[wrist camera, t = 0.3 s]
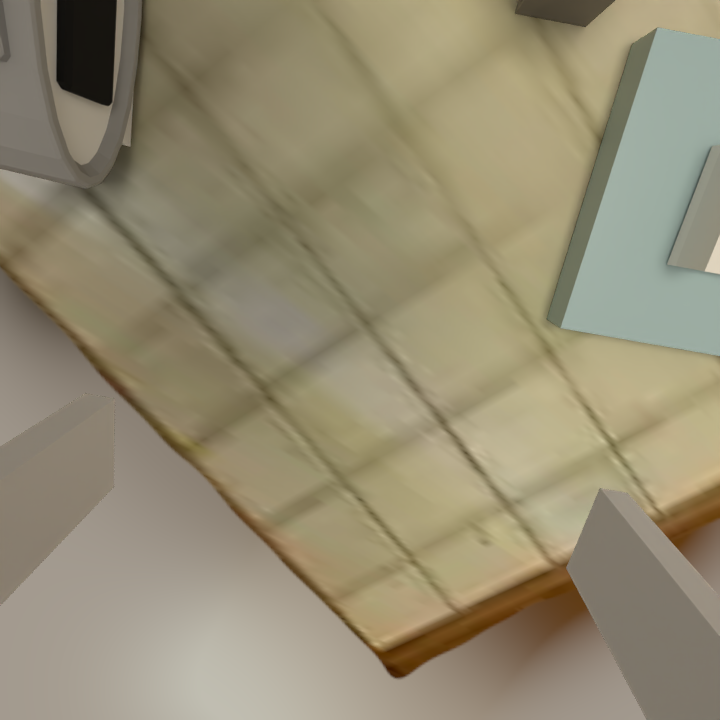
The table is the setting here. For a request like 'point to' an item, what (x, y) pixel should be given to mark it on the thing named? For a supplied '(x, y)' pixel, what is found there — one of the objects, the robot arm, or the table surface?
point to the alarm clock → (67, 86)
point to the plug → (563, 10)
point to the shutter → (701, 223)
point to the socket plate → (647, 203)
